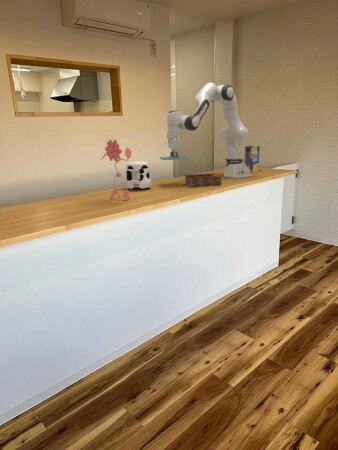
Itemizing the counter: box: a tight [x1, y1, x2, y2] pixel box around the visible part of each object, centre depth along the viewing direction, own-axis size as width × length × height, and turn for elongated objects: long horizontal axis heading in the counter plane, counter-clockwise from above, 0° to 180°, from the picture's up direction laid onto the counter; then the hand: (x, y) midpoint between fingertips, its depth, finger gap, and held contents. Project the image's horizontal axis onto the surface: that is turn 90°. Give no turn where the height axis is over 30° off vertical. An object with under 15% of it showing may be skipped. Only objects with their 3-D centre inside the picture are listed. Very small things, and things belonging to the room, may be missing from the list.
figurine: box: [100, 139, 132, 205], centre depth 189 cm, size 15×26×35 cm, turn 51°
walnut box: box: [184, 172, 222, 188], centre depth 234 cm, size 22×15×6 cm, turn 102°
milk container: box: [125, 160, 152, 191], centre depth 224 cm, size 17×17×18 cm
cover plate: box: [159, 151, 190, 161], centre depth 230 cm, size 18×12×5 cm, turn 103°
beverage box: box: [244, 145, 260, 174], centre depth 286 cm, size 7×11×22 cm, turn 130°
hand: (174, 155), depth 230 cm, fingers closed on cover plate, 2 cm apart
